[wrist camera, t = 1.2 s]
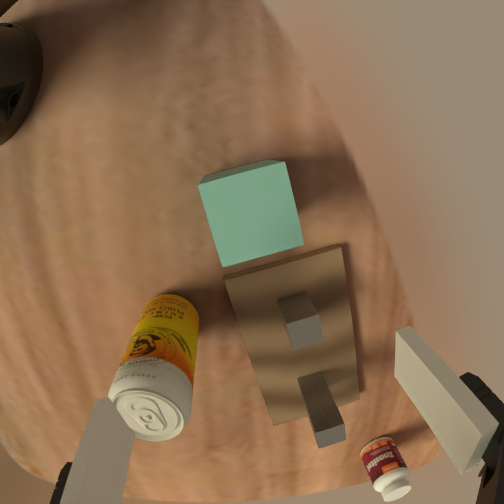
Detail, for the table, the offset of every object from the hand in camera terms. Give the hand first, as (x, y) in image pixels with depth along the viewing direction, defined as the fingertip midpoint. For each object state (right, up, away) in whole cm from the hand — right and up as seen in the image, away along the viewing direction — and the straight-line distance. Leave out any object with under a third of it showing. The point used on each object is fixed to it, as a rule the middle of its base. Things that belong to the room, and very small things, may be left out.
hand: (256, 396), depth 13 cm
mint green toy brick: (-1, +11, +17) cm, 21 cm away
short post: (+4, 0, +20) cm, 20 cm away
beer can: (-9, -1, +21) cm, 22 cm away
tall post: (+7, -10, +23) cm, 26 cm away
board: (+6, -5, +23) cm, 24 cm away
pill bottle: (+21, -27, +32) cm, 47 cm away
